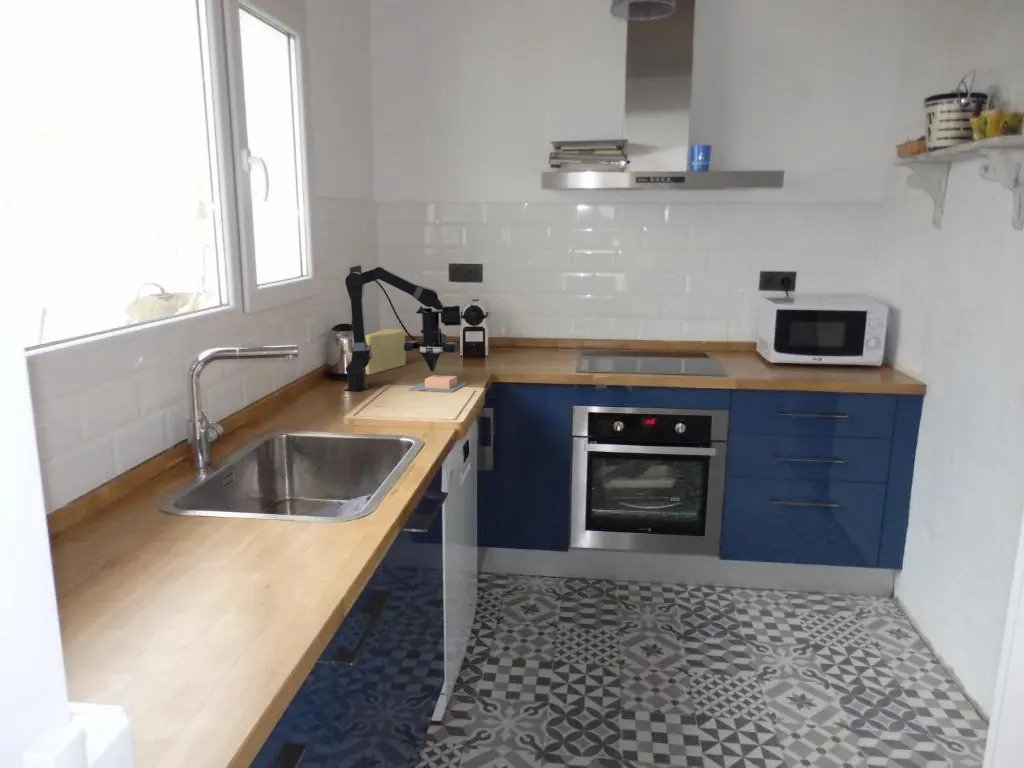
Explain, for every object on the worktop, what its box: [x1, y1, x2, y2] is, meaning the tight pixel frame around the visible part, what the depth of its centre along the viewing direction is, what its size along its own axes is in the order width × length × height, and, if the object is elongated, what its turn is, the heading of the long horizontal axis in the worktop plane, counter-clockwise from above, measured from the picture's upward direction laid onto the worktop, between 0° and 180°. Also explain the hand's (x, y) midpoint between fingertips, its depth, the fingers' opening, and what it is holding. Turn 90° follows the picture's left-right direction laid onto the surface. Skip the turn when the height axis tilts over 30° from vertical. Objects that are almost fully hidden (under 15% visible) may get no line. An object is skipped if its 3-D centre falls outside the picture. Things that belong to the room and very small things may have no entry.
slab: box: [424, 374, 458, 389], centre depth 259 cm, size 7×3×9 cm
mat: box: [408, 381, 468, 393], centre depth 260 cm, size 14×16×1 cm
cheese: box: [364, 328, 407, 376], centre depth 293 cm, size 22×10×15 cm, turn 159°
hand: (432, 371), depth 260 cm, fingers closed
